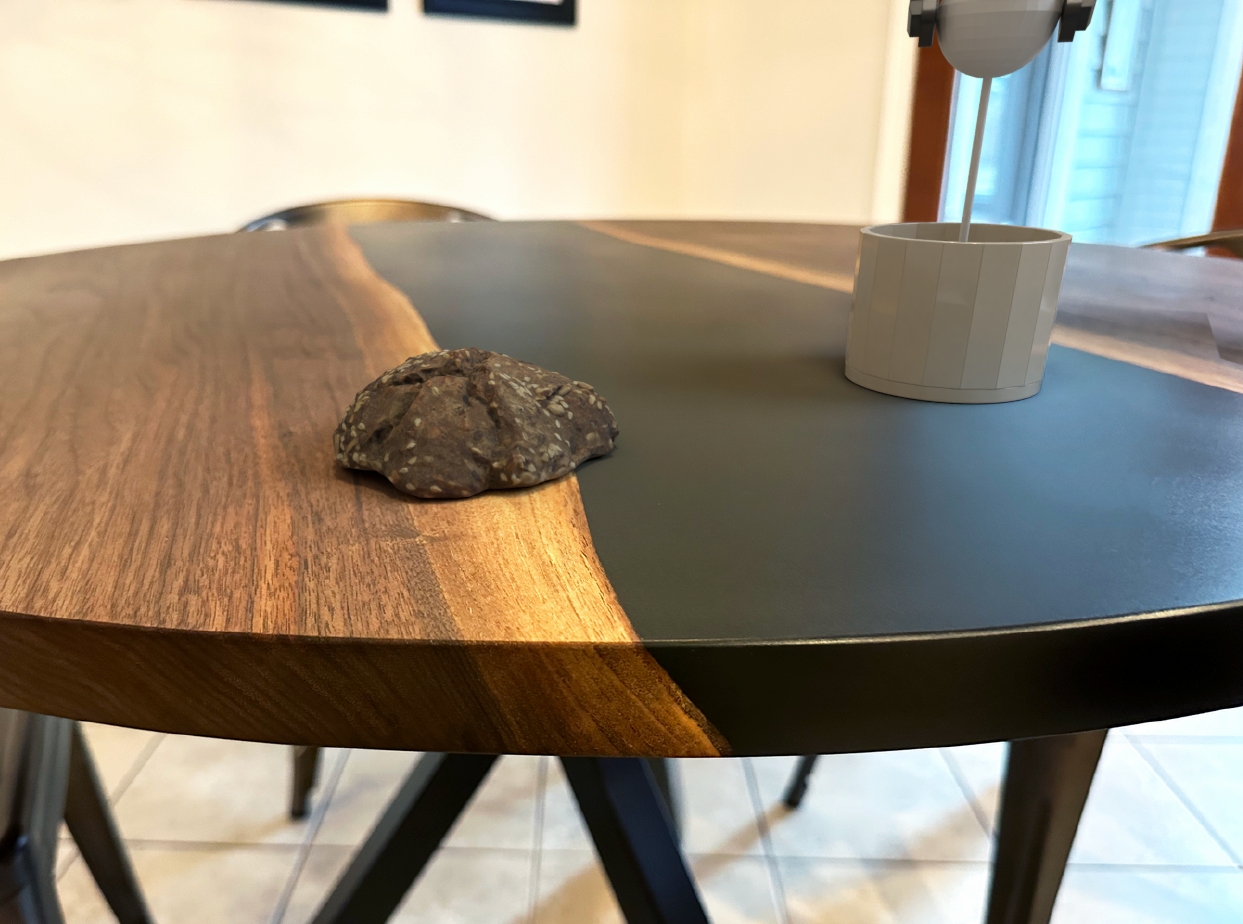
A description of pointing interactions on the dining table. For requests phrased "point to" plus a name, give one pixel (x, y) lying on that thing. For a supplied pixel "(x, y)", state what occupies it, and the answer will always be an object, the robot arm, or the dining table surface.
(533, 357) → the dining table surface
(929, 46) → the robot arm
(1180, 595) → the dining table surface
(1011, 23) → the lollipop
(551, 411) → the bread roll
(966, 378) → the white plant pot
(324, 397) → the dining table surface
